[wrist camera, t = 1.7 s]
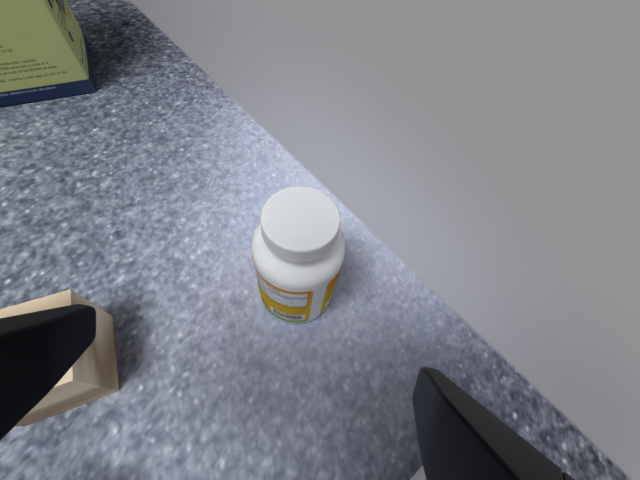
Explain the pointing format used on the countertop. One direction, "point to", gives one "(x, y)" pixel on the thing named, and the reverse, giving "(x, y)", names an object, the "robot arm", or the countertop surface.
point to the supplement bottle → (298, 253)
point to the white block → (419, 475)
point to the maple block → (87, 372)
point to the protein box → (42, 52)
